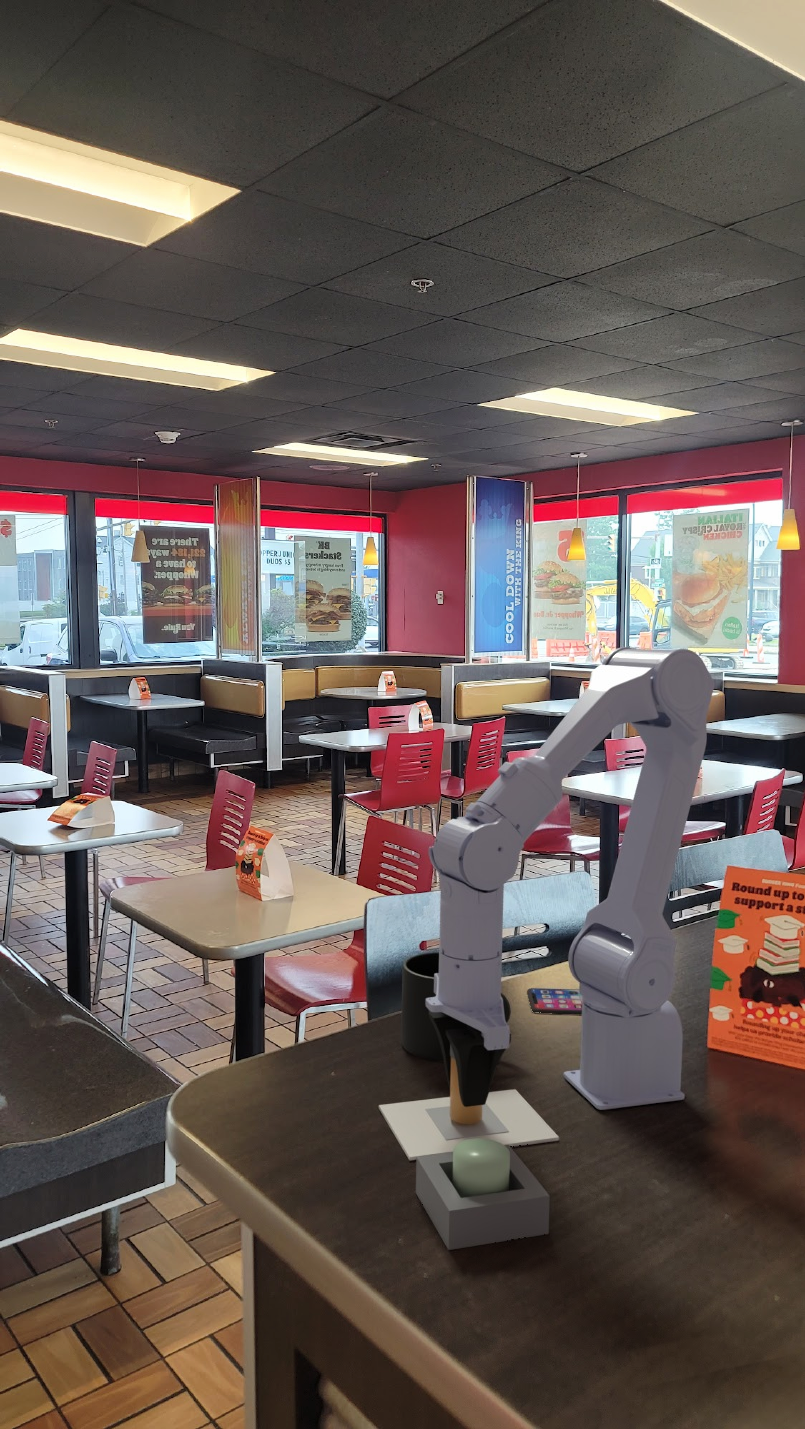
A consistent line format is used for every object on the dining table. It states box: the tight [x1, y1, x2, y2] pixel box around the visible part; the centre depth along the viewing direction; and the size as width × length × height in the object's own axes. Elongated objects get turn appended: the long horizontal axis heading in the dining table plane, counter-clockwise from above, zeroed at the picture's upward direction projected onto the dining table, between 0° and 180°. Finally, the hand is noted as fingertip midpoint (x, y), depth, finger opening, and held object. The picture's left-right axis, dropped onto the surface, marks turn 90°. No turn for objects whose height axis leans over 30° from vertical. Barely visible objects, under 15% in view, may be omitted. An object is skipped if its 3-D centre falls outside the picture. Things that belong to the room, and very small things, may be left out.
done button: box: [452, 1138, 510, 1198], centre depth 80 cm, size 4×4×3 cm
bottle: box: [449, 1044, 483, 1124], centre depth 94 cm, size 3×3×7 cm
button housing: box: [415, 1145, 551, 1251], centre depth 80 cm, size 8×8×3 cm
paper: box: [378, 1088, 560, 1162], centre depth 95 cm, size 14×10×1 cm
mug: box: [400, 951, 512, 1062], centre depth 112 cm, size 9×12×9 cm
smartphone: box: [526, 987, 583, 1015], centre depth 127 cm, size 8×1×15 cm
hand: (466, 1095), depth 95 cm, fingers closed on bottle, 3 cm apart
